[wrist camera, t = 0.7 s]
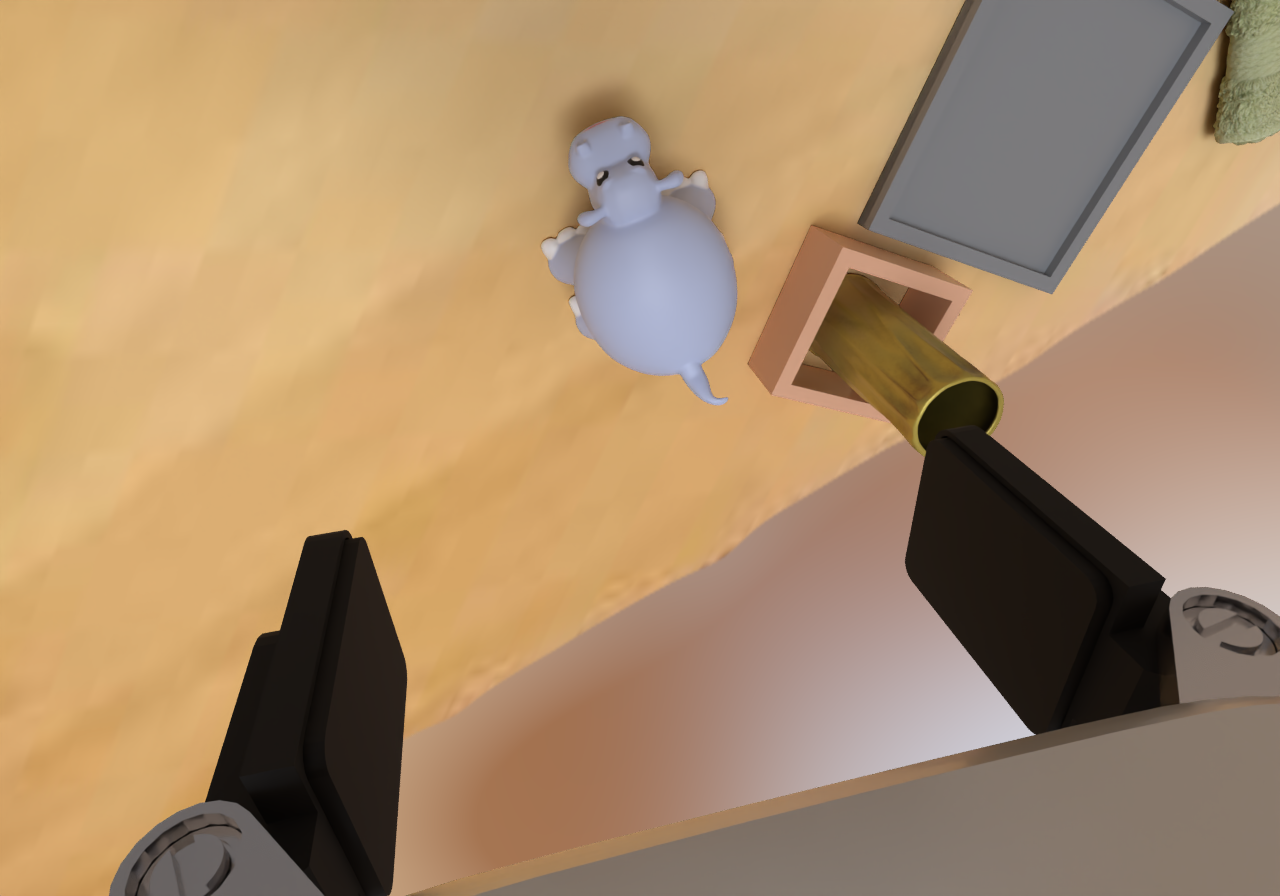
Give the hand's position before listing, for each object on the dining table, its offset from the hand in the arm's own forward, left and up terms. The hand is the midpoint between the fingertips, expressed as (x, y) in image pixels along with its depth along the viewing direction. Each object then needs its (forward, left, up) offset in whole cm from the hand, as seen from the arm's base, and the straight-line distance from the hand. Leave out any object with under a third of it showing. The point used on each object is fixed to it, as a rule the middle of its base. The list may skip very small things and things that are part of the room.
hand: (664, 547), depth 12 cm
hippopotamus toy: (+3, +8, -34) cm, 35 cm away
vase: (+4, +24, -34) cm, 42 cm away
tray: (-11, +30, -34) cm, 46 cm away
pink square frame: (+4, +24, -34) cm, 41 cm away
